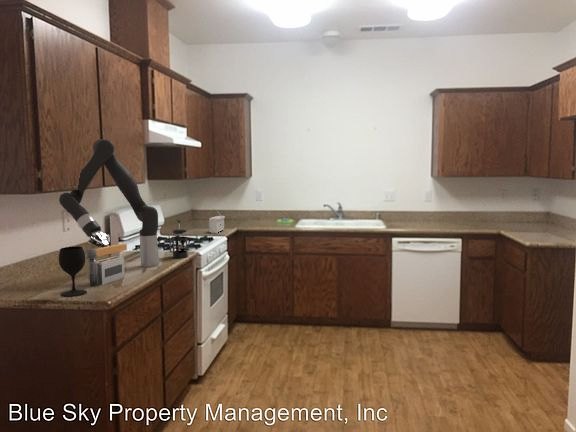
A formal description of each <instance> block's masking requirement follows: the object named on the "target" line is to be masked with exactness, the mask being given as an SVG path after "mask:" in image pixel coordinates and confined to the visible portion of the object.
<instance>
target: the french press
mask: <svg viewBox="0 0 576 432" xmlns="http://www.w3.org/2000/svg"><path fill="white" fill-rule="evenodd" d="M175 221H176V222H178V228H174V229H172V230H171V231H172V235H179V236H173V237H169V239H168V241H169V245H168V246H169V253H172V259H186V258H188V257H189V255H188V252H189V250H188V237H187V236H181V235H183V233H187V231H188V229H187V228H180V225H181V224H180V223H181V221H183V219H175Z"/></svg>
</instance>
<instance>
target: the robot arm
mask: <svg viewBox="0 0 576 432" xmlns="http://www.w3.org/2000/svg"><path fill="white" fill-rule="evenodd" d="M92 152H93V154H92V156H91V157H90V159H89V161H88V162H87V163H86V164H85V165H84V166H83V168H82V169H80V171H81V173H80V178H79V185H78V190H72V189H71V191H70V192H64V193H62V194H60V195H59V198H58V201H59V203H60V205H61V206H62V208H63V209H64V210H65V211H66V212H67V213H68V214H70V215H71V217H72V218H73V219H74V221H75V222H76V223H77V224H78V226H79V227H80V229H81V230H82V232H83V233H84V234H85V235H86V237H88V238H89V239H88V243H91V244H92V245H94V246H96V247H98V248H103V247H108V246H110V245H109V244H110V243H111V239H110V234H109V233H107V234H106V233H104V231H102V226H101V225H99V223H98V221H96V219H95V218H94V217H93V216H92V215H91V214H90V213H89V211H87V209H86V208H85V207H84V206H82V205H81V202H82V199H83V197H84V193H85V192H86V190H87V188H89V187H88V186H89V185H90V184H91V182H92V181H93V180H94V178H95V176H96V175H97V173H98V172H99V171H100V169H101V168H102V167H103V165H104V167H105V169H107V172H108V173H109V175H110V177H111V179H112V181H113V182H114V183H115V185H116V186H117V188H118V190H119V191H120V193H122V195H123V197H124V198H125V200H127V202H128V203H129V206H130V207H131V209H132V211H133V212H134V214H135V216H136V218H137V219H138V221H140V222H142V223H141V226H142V227H141V229H140V230H139V249H140V250H139V252H140V253H139V254H140V257H139V258H140V266H141V267H143V268H152V267H156V266H159V264H160V262H159V261H160V259H159V257H160V256H159V248H158V229H159V212H158V210H157V208H155V207H154V206H148V204H146V202H145V201H144V199H143V197H142V196H141V194H140V191H139V187H138V184H137V182H136V181H135V179H134V176H133V175H132V173H130V171H129V170H128V169H127V168H126V167H125V166H124V165H123V164H122V163H121V162H120V161H119V160H118V158H117V155H115V145H114V143H113V142H112V141H111V140H108V139H104V138H103V139H102V138H101V139H97V140H95V141H94V142H93V143H92Z"/></svg>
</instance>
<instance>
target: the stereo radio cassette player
mask: <svg viewBox="0 0 576 432" xmlns="http://www.w3.org/2000/svg"><path fill="white" fill-rule="evenodd" d="M216 212H217V213H218V214H219V215H215V216H213V217H210V218H209V219H208V231H209V233H210V232H211V233H212V234H219V233H220V232H219V231H221V230H224V231H225V218H226V215H221V214H220V212H219V211H218V210H216ZM218 232H219V233H218ZM211 233H210V234H211Z"/></svg>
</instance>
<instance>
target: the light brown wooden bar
mask: <svg viewBox="0 0 576 432" xmlns="http://www.w3.org/2000/svg"><path fill="white" fill-rule="evenodd" d="M124 251H128V245H127V243H118V244H113V245H109V246H108V247H98V248H88V249H86V256H87V257H86V259H88V260H89V259H94V258H95V259H97V258H98V257H100V256H105V255H106V256H107V255H110V254H115V253H119V252H124Z"/></svg>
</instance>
